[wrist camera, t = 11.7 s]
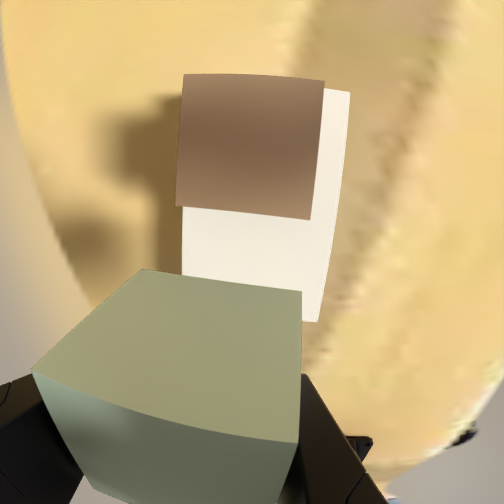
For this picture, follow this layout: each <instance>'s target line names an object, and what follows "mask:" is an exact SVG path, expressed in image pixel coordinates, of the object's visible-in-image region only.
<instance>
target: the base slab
mask: <svg viewBox="0 0 504 504" xmlns="http://www.w3.org/2000/svg"><path fill="white" fill-rule="evenodd" d="M349 102H350V92H345V91H339V90H332V89H325V88H324V95H323V107H322V119H321V130H320V140H319V150H318V159H317V168H316V177H315V186H314V194H313V202H312V210H311V218H310V220H302V219H294V218H286V217H278V216H269V215H261V214H252V213H243V212H234V211H224V210H214V209H204V208H194V207H183V222H182V275H186V276H192V277H199V278H206V279H213V280H220V281H227V282H235V283H242V284H250V285H257V286H265V287H273V288H281V289H289V290H297V291H302V321H309V322H317V321H318V316H319V311H320V306H321V301H322V296H323V291H324V286H325V281H326V275H327V270H328V264H329V259H330V253H331V247H332V241H333V235H334V229H335V222H336V216H337V209H338V202H339V195H340V187H341V180H342V172H343V163H344V155H345V145H346V136H347V125H348V114H349Z"/></svg>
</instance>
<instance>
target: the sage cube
mask: <svg viewBox="0 0 504 504" xmlns="http://www.w3.org/2000/svg"><path fill="white" fill-rule="evenodd" d="M301 354H302V291H297V290H289V289H281V288H273V287H265V286H257V285H250V284H242V283H235V282H227V281H220V280H213V279H206V278H199V277H192V276H186V275H179V274H172V273H166V272H159V271H153V270H147V269H141V270H140V271H138V272H137V273H136V274H135V275H134V276H132V277H131V278H130V279H129V280H128V281H127V282H125V283H124V284H123V285H122V286H121V287H120V288H118V289H117V290H116V291H115V292H114V293H113V294H112V295H110V296H109V297H108V298H107V299H106V300H105V301H104V302H102V303H101V304H100V305H99V306H98V307H97V308H96V309H94V310H93V311H92V312H91V313H90V314H89V315H88V316H87V317H86V318H84V319H83V320H82V321H81V322H80V323H79V324H78V325H77V326H76V327H75V328H74V329H72V330H71V331H70V332H69V333H68V334H67V335H66V336H65V337H64V338H63V339H61V341H59V342H58V343H57V344H56V345H55V346H54V347H53V348H52V349H51V350H50V351H49V352H48V353H47V354H46V355H45V356H43V358H41V359H40V360H39V361H38V362H37V363H36V364H35V365H34V366H33V367H32V368H31V372H32V375H33V377H34V379H35V382H36V384H37V387H38V389H39V391H40V394H41V396H42V398H43V400H44V402H45V405H46V407H47V409H48V411H49V413H50V415H51V417H52V419H53V421H54V423H55V425H56V427H57V429H58V431H59V433H60V434H61V436H62V438H63V440H64V442H65V444H66V445H67V447H68V449H69V451H70V452H71V454H72V456H73V457H74V459H75V461H76V462H77V464H78V466H79V467H80V469H81V470H82V472H83V474H84V475H85V476H86V478H87V479H88V481H89V483H90V484H91V486H92V487H93V488H94V489H95V490H97V491H100V492H102V493H104V494H107V495H109V496H112V497H114V498H116V499H119V500H121V501H124V502H127V503H129V504H276V503H277V500H278V498H279V495H280V493H281V490H282V487H283V485H284V482H285V479H286V477H287V474H288V471H289V468H290V466H291V463H292V460H293V457H294V454H295V451H296V448H297V445H298V437H299V417H300V392H301Z"/></svg>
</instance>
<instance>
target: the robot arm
mask: <svg viewBox="0 0 504 504" xmlns="http://www.w3.org/2000/svg"><path fill="white" fill-rule="evenodd" d="M372 445H373V440H372V439H371V438H346V437H345V436H344V434H343V432H342V431H341V429H340V428H339V426H338V424H337V423H336V421H335V420H334V418H333V416H332V415H331V413H330V411H329V410H328V408H327V407H326V405H325V403H324V402H323V400H322V398H321V397H320V395H319V394H318V392H317V390H316V389H315V387H314V385H313V384H312V382H311V381H310V379H309V377H308V376H307V375H306V374H301V392H300V417H299V437H298V445H297V448H296V451H295V454H294V457H293V460H292V463H291V466H290V468H289V471H288V474H287V477H286V479H285V482H284V485H283V487H282V490H281V493H280V495H279V498H278V500H277V504H389V503H388V502H387V501H386V499H385V498H384V496H383V495H382V493H381V492H380V491H379V489H378V488H377V486H376V485H375V483H374V482H373V480H372V478H371V477H370V475H369V474H368V473H366V469H365V468H364V466H363V464H362V461H363V460H364V458H365V457H366V455H367V453H368V452H369V450H370V449H371V447H372ZM83 476H84V474H83V472H82V470H81V469H80V467H79V466H78V464H77V462H76V461H75V459H74V457H73V456H72V454H71V452H70V451H69V449H68V447H67V445H66V444H65V442H64V440H63V438H62V436H61V434H60V433H59V431H58V429H57V427H56V425H55V423H54V421H53V419H52V417H51V415H50V413H49V411H48V409H47V407H46V405H45V402H44V400H43V398H42V396H41V394H40V391H39V389H38V387H37V384H36V382H35V379H34V377H33V375H32V374H29V375H27V376H24V377H22V378H19V379H17V380H14V381H12V383H11V382H9V383H6V384H3V385H1V386H0V504H69V503H70V501H71V499H72V497H73V495H74V493H75V491H76V489H77V487H78V485H79V483H80V481H81V480H82V477H83Z"/></svg>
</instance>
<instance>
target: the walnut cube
mask: <svg viewBox="0 0 504 504" xmlns="http://www.w3.org/2000/svg"><path fill="white" fill-rule="evenodd" d="M324 82H325V81H319V80H311V79H303V78H293V77H282V76H268V75H250V74H184V78H183V88H182V98H181V110H180V122H179V136H178V152H177V171H176V198H175V206H183V207H194V208H204V209H214V210H224V211H234V212H243V213H252V214H261V215H269V216H278V217H286V218H294V219H302V220H310V218H311V210H312V202H313V194H314V186H315V177H316V168H317V159H318V150H319V140H320V130H321V119H322V107H323V95H324Z"/></svg>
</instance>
